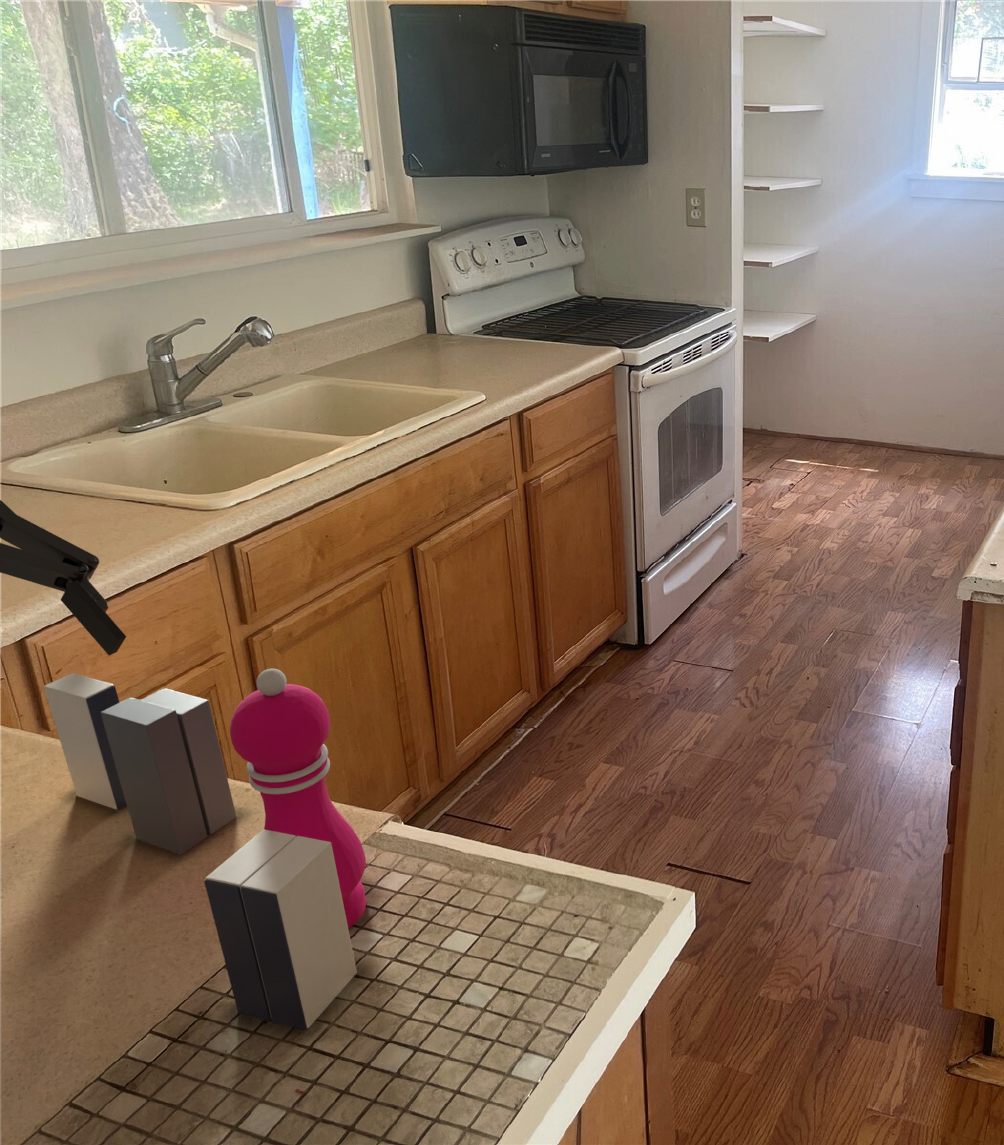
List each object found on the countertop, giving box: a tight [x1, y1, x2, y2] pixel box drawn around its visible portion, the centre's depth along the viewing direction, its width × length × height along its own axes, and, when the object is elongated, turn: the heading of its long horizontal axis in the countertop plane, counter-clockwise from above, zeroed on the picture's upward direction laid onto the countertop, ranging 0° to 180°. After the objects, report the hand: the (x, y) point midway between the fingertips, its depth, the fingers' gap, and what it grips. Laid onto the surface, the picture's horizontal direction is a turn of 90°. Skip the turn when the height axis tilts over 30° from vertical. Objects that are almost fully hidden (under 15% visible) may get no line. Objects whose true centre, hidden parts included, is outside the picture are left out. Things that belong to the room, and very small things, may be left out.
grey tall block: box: [203, 828, 358, 1031], centre depth 67 cm, size 5×5×11 cm
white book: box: [43, 672, 127, 811], centre depth 88 cm, size 2×5×11 cm, turn 66°
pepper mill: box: [229, 668, 367, 929], centre depth 73 cm, size 7×7×20 cm
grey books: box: [101, 687, 237, 855], centre depth 84 cm, size 5×5×12 cm
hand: (42, 680), depth 88 cm, fingers open, 13 cm apart
